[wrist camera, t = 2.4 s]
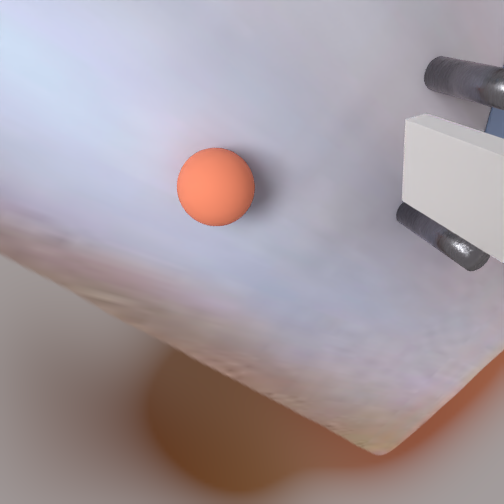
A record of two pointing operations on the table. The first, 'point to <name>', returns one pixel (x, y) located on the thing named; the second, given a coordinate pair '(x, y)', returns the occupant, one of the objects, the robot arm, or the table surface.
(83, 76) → the table surface
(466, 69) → the post
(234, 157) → the ball
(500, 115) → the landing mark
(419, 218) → the post
